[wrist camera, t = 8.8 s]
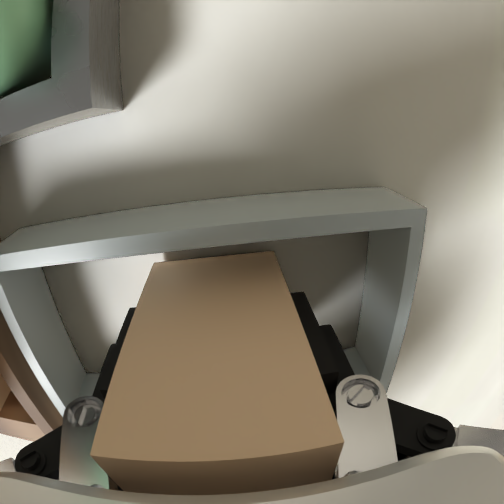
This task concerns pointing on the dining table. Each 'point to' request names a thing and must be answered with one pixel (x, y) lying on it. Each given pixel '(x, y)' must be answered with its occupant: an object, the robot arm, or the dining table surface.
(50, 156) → the dining table surface
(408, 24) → the dining table surface
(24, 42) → the button
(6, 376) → the brown divided tray
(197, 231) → the tote frame
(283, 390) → the block
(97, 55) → the grey square socket
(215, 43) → the dining table surface
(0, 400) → the seated block
